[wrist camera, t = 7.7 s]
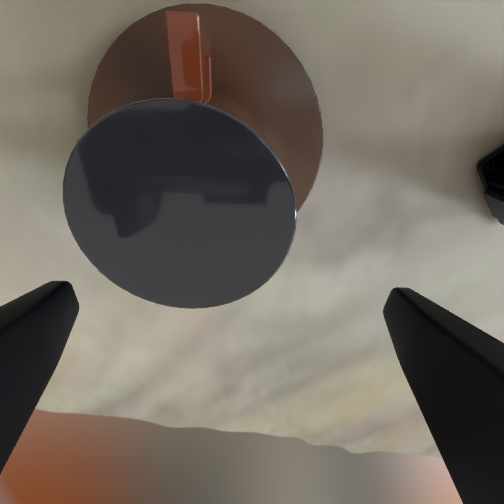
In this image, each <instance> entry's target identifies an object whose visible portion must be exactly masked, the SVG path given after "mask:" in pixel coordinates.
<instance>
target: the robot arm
mask: <svg viewBox="0 0 504 504" xmlns="http://www.w3.org/2000/svg"><path fill="white" fill-rule="evenodd" d="M488 163H489V164H488ZM487 164H488V166H487V167H486V165H487ZM485 167H486V168H485ZM477 170H478V173H479V175H480V178H481V180H482V182H483V185H484V187H485V190H484V195H485V198H486V200H487V202H488V205H489V207H490V209H491V212H492V214H493V216H495V217H497V219H498V221H499V222H500V223H501V224H503V225H504V145H503V146H502V147H500V148H499V149H497V150H496V151H494V152H493V153H491V154H490V155H488V156H487V157H485V158H484V159H482V160H481V161H480V162H479V164H478V166H477ZM78 312H79V303H78V300H77V297H76V295H75V292H74V290H73V287H72V285H71V284H70V283H69V282H67V281H51V282H48V283H46V284H44V285H42V286H40V287H38V288H36V289H34V290H32V291H30V292H28V293H26V294H25V295H23V296H21V297H19V298H17V299H15V300H13V301H11V302H9V303H7V304H5V305H3V306H1V307H0V474H1V472H2V470H3V468H4V466H5V464H6V462H7V460H8V458H9V457H10V455H11V453H12V451H13V449H14V447H15V445H16V443H17V441H18V439H19V437H20V435H21V433H22V432H23V429H24V428H25V426H26V424H27V422H28V420H29V418H30V417H31V414H32V413H33V411H34V409H35V407H36V405H37V403H38V401H39V399H40V397H41V396H42V394H43V392H44V390H45V388H46V386H47V384H48V382H49V380H50V378H51V376H52V375H53V373H54V370H55V368H56V366H57V364H58V362H59V360H60V358H61V355H62V353H63V350H64V348H65V345H66V343H67V340H68V337H69V335H70V332H71V330H72V327H73V325H74V322H75V320H76V317H77V315H78ZM383 315H384V318H385V321H386V324H387V327H388V330H389V333H390V336H391V339H392V342H393V345H394V348H395V351H396V354H397V357H398V360H399V362H400V365H401V367H402V370H403V372H404V374H405V376H406V379H407V381H408V383H409V385H410V387H411V390H412V392H413V394H414V396H415V398H416V401H417V403H418V405H419V407H420V410H421V412H422V414H423V416H424V418H425V421H426V423H427V425H428V427H429V429H430V432H431V434H432V436H433V438H434V440H435V443H436V445H437V447H438V449H439V451H440V454H441V456H442V458H443V460H444V462H445V465H446V467H447V469H448V471H449V473H450V476H451V478H452V480H453V482H454V484H455V487H456V489H457V491H458V493H459V495H460V498H461V500H462V502H463V504H504V343H502V342H501V341H499V340H497V339H496V338H494V337H492V336H490V335H489V334H487V333H485V332H484V331H482V330H480V329H478V328H477V327H475V326H473V325H472V324H470V323H468V322H466V321H465V320H463V319H461V318H460V317H458V316H456V315H454V314H453V313H451V312H449V311H448V310H446V309H444V308H443V307H441V306H439V305H437V304H436V303H434V302H432V301H431V300H429V299H427V298H425V297H424V296H422V295H420V294H419V293H417V292H415V291H413V290H412V289H410V288H398V287H396V288H394V289H392V290H391V292H390V295H389V297H388V299H387V301H386V304H385V306H384V309H383Z"/></svg>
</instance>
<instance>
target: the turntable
mask: <svg viewBox="0 0 504 504" xmlns="http://www.w3.org/2000/svg"><path fill="white" fill-rule="evenodd" d="M167 11H173V12H189V13H198V14H199V16H200V17H201V19H202V21H203V22H204V24H205V26H206V28H207V29H208V31H209V33H210V34H211V42H212V72H213V90H214V91H218V92H222V93H225V94H227V95H229V96H231V97H233V98H235V99H236V100H238V101H239V102H241V103H242V104H243V105H244V106H246V107H247V109H248V110H249V111H250V112H251V113H252V114H253V115H254V117H255V118H256V120H257V121H258V123H259V125H260V127H261V129H262V131H263V133H264V135H265V137H266V139H267V140H268V142H269V143H270V144H271V146H272V147H273V148H274V150H275V151H276V153H277V155H278V157H279V159H280V160H281V162H282V164H283V166H284V168H285V170H286V172H287V174H288V176H289V179H290V182H291V184H292V187H293V191H294V196H295V200H296V212H297V211H298V210H299V209H300V207H301V206H302V204H303V203H304V201H305V200H306V198H307V196H308V194H309V193H310V191H311V189H312V187H313V184H314V181H315V179H316V176H317V173H318V169H319V165H320V161H321V154H322V146H323V128H322V120H321V112H320V108H319V104H318V100H317V96H316V94H315V91H314V89H313V86H312V84H311V81H310V79H309V77H308V75H307V73H306V72H305V70H304V68H303V66H302V64H301V63H300V61H299V60H298V59H297V57H296V56H295V55H294V53H293V52H292V51H291V49H290V48H289V47H288V46H287V45H286V44H285V43H284V42H283V41H282V40H281V39H280V38H279V37H278V36H277V35H276V34H275V33H273V32H272V31H271V30H269V29H268V28H267V27H265V26H264V25H263V24H261V23H260V22H258V21H256V20H254V19H253V18H251V17H249V16H247V15H245V14H243V13H240V12H238V11H235V10H232V9H229V8H226V7H222V6H216V5H210V4H182V5H176V6H171V7H166V8H164V9H161V10H158V11H156V12H153V13H150V14H148V15H147V16H145V17H143V18H142V19H140V20H138V21H137V22H135V23H133V24H132V25H131V26H130V27H129V28H128V29H126V30H125V31H124V32H123V33H122V34H121V35H119V37H118V38H117V39H116V40H115V42H114V43H113V44H112V45H111V47H110V48H109V49H108V50H107V52H106V54H105V56H104V57H103V59H102V61H101V63H100V64H99V67H98V69H97V72H96V75H95V77H94V80H93V83H92V87H91V92H90V97H89V105H88V128H89V127H90V126H92V125H93V124H94V123H95V122H97V121H98V120H99V119H100V118H101V117H103V116H105V115H106V114H108V113H110V112H112V111H113V110H115V109H117V108H119V107H122V106H125V105H128V104H131V103H133V102H137V101H141V100H145V99H151V98H156V97H161V96H173V88H172V78H171V68H170V59H169V49H168V39H167V28H166V18H165V13H166V12H167Z"/></svg>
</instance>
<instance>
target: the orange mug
mask: <svg viewBox="0 0 504 504" xmlns="http://www.w3.org/2000/svg"><path fill="white" fill-rule="evenodd" d="M165 18H166V28H167V39H168V49H169V59H170V68H171V78H172V88H173V96H161V97H156V98H151V99H145V100H141V101H137V102H133V103H131V104H128V105H125V106H122V107H119V108H117V109H115V110H113V111H112V112H110V113H108V114H106V115H105V116H103V117H101V118H100V119H99V120H98V121H97V122H95V123H94V124H93V125H92V126H90V127H89V128H88V130H87V131H86V132H85V133H84V134H83V135H82V137H81V138H80V139H79V140H78V142H77V144H76V146H75V147H74V149H73V151H72V152H71V155H70V157H69V160H68V163H67V166H66V169H65V175H64V180H63V203H64V210H65V215H66V218H67V221H68V225H69V227H70V230H71V232H72V234H73V236H74V239H75V240H76V242H77V244H78V245H79V247H80V249H81V250H82V252H83V253H84V254H85V256H86V257H87V258H88V260H89V261H90V262H91V263H92V264H93V265H94V266H95V267H96V268H97V269H98V270H99V271H100V272H101V273H102V274H103V275H104V276H105V277H107V278H108V279H109V280H110V281H112V282H113V283H115V284H116V285H118V286H119V287H120V288H122V289H124V290H126V291H128V292H129V293H131V294H133V295H135V296H138V297H140V298H142V299H145V300H148V301H151V302H154V303H157V304H161V305H165V306H170V307H178V308H193V309H194V308H208V307H215V306H220V305H224V304H228V303H231V302H233V301H236V300H239V299H241V298H243V297H245V296H247V295H249V294H251V293H252V292H254V291H255V290H257V289H259V288H260V287H261V286H262V285H264V284H265V283H266V282H267V281H268V280H269V279H270V278H271V277H272V276H273V275H274V274H275V273H276V272H277V270H278V269H279V268H280V266H281V265H282V263H283V262H284V260H285V258H286V256H287V254H288V252H289V250H290V247H291V245H292V242H293V238H294V234H295V229H296V218H297V212H296V200H295V196H294V191H293V187H292V184H291V182H290V179H289V176H288V174H287V172H286V170H285V168H284V166H283V164H282V162H281V160H280V159H279V157H278V155H277V153H276V151H275V150H274V148H273V147H272V146H271V144H270V143H269V142H268V140H267V139H266V137H265V135H264V133H263V131H262V129H261V127H260V125H259V123H258V121H257V120H256V118H255V117H254V115H253V114H252V113H251V112H250V111H249V110H248V109H247V107H246V106H244V105H243V104H242V103H241V102H239V101H238V100H236V99H235V98H233V97H231V96H229V95H227V94H225V93H222V92H218V91H214V90H213V72H212V42H211V34H210V33H209V31H208V29H207V28H206V26H205V24H204V22H203V21H202V19H201V17H200V16H199V14H198V13H189V12H173V11H167V12H166V13H165Z"/></svg>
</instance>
